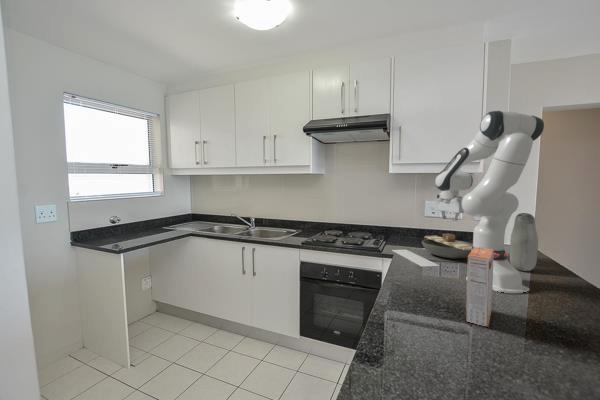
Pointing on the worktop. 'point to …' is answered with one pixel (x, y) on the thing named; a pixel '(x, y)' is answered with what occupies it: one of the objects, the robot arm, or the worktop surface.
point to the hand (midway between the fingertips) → (449, 219)
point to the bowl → (446, 249)
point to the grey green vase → (524, 243)
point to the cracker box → (479, 286)
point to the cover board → (454, 244)
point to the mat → (415, 258)
